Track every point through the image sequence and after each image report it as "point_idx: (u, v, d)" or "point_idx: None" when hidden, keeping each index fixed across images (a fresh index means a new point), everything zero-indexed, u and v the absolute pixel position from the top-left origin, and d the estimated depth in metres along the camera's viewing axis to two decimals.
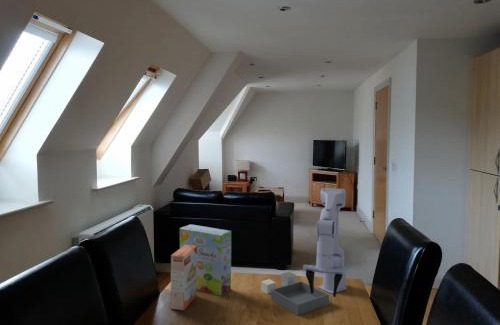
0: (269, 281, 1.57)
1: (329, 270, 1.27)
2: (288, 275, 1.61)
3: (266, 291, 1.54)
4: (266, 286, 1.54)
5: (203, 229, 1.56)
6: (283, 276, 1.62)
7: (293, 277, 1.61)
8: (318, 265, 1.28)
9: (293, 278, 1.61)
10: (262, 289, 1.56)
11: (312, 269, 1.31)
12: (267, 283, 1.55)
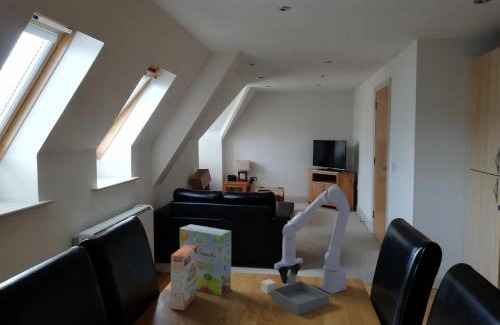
0: (269, 281, 1.57)
1: None
2: (288, 275, 1.61)
3: (266, 291, 1.54)
4: (266, 286, 1.54)
5: (203, 229, 1.56)
6: None
7: (293, 277, 1.61)
8: None
9: (293, 277, 1.61)
10: (262, 289, 1.56)
11: (295, 262, 1.65)
12: (267, 283, 1.55)
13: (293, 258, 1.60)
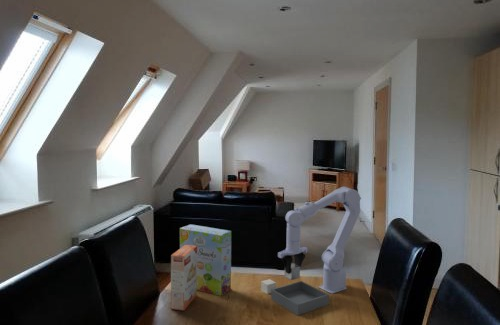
0: (269, 281, 1.57)
1: None
2: (292, 267, 1.55)
3: (266, 291, 1.54)
4: (266, 286, 1.54)
5: (203, 229, 1.56)
6: None
7: (297, 269, 1.55)
8: None
9: (297, 269, 1.55)
10: (262, 289, 1.56)
11: None
12: (267, 283, 1.55)
13: (297, 246, 1.53)
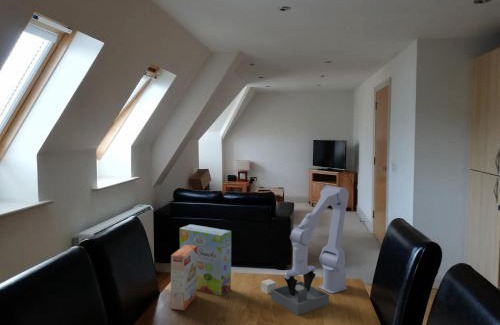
0: (269, 281, 1.57)
1: None
2: (298, 289, 1.45)
3: (266, 291, 1.54)
4: (266, 286, 1.54)
5: (203, 229, 1.56)
6: None
7: (304, 291, 1.45)
8: None
9: (303, 292, 1.45)
10: (262, 289, 1.56)
11: (307, 270, 1.48)
12: (267, 283, 1.55)
13: (305, 266, 1.43)
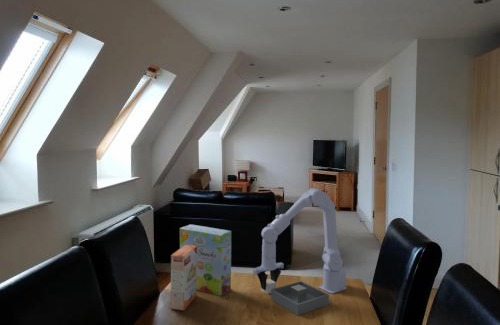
0: (269, 281, 1.57)
1: None
2: (298, 289, 1.45)
3: (266, 291, 1.54)
4: (266, 286, 1.54)
5: (203, 229, 1.56)
6: (293, 290, 1.46)
7: (304, 291, 1.45)
8: None
9: (303, 292, 1.45)
10: (262, 289, 1.56)
11: None
12: (267, 283, 1.55)
13: (273, 263, 1.54)
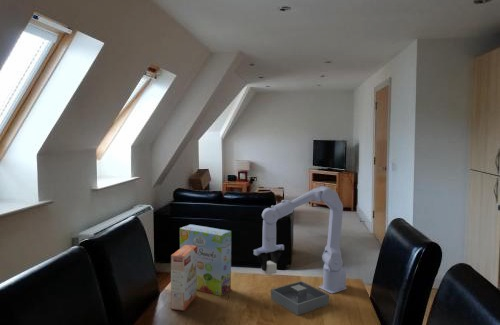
0: (269, 262, 1.56)
1: None
2: (298, 289, 1.45)
3: (266, 272, 1.54)
4: None
5: (203, 229, 1.56)
6: (293, 290, 1.46)
7: (304, 291, 1.45)
8: None
9: (303, 292, 1.45)
10: (262, 270, 1.56)
11: None
12: (267, 264, 1.54)
13: (273, 244, 1.53)
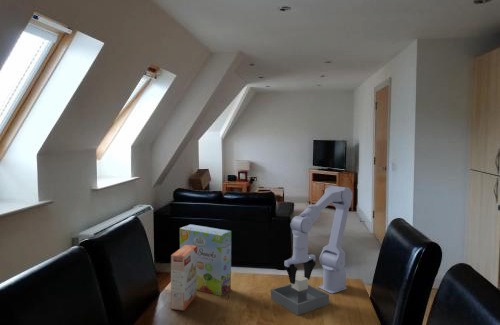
0: (300, 277, 1.46)
1: None
2: None
3: (298, 288, 1.44)
4: (298, 282, 1.43)
5: (203, 229, 1.56)
6: (293, 290, 1.46)
7: (304, 291, 1.45)
8: None
9: (303, 292, 1.45)
10: (293, 286, 1.46)
11: None
12: (299, 279, 1.44)
13: (305, 254, 1.43)
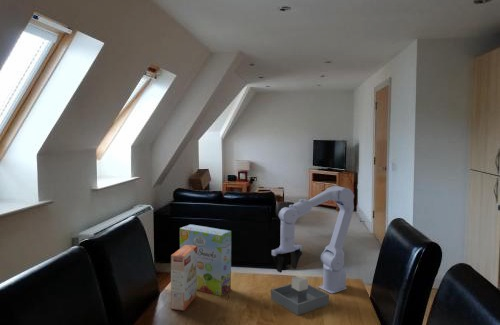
0: (300, 277, 1.46)
1: None
2: None
3: (298, 288, 1.44)
4: (298, 282, 1.43)
5: (203, 229, 1.56)
6: (293, 290, 1.46)
7: (304, 291, 1.45)
8: None
9: (303, 292, 1.45)
10: (293, 286, 1.46)
11: None
12: (299, 279, 1.44)
13: (292, 244, 1.49)
